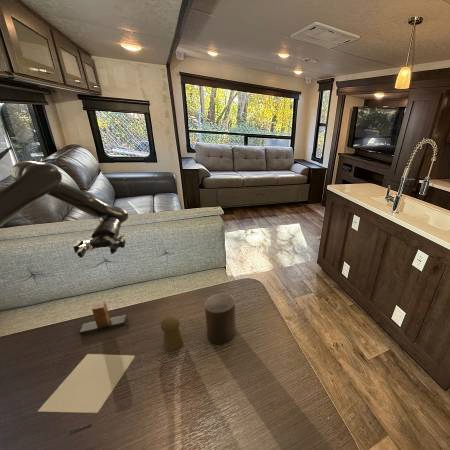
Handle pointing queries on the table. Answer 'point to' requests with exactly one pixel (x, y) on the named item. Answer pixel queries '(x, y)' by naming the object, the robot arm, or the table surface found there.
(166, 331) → the cork
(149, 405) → the table surface
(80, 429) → the mark
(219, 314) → the pillar candle
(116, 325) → the wooden handled grey block
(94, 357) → the memo board
